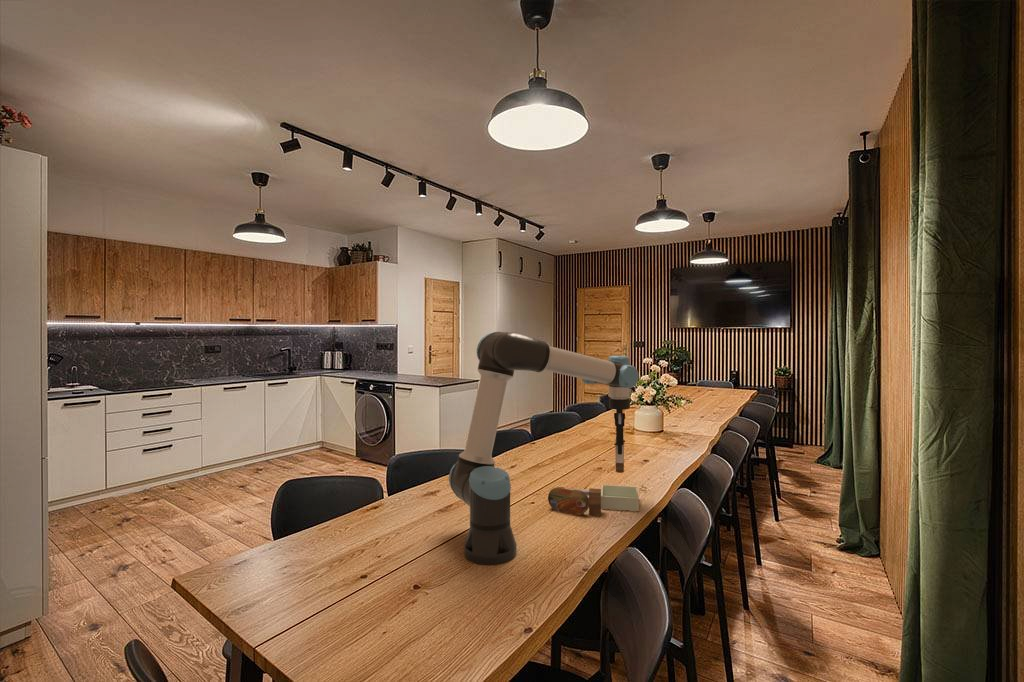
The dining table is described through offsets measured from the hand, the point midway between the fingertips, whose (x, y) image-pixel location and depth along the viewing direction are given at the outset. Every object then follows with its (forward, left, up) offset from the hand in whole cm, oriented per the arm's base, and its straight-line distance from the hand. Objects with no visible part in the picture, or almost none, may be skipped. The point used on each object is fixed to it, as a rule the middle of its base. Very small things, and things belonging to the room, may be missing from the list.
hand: (619, 461), depth 176 cm
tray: (0, 0, -16) cm, 16 cm away
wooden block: (-11, +9, -16) cm, 21 cm away
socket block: (0, +13, -16) cm, 21 cm away
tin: (-12, +18, -16) cm, 27 cm away
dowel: (0, 0, -4) cm, 4 cm away
